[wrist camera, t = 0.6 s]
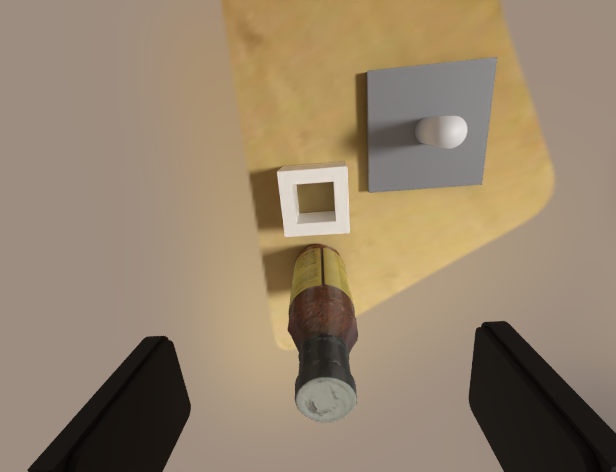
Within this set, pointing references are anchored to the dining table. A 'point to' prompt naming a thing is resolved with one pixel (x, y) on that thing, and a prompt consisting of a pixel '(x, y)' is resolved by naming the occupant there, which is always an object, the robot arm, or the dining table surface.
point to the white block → (315, 220)
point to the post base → (414, 104)
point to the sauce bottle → (323, 334)
